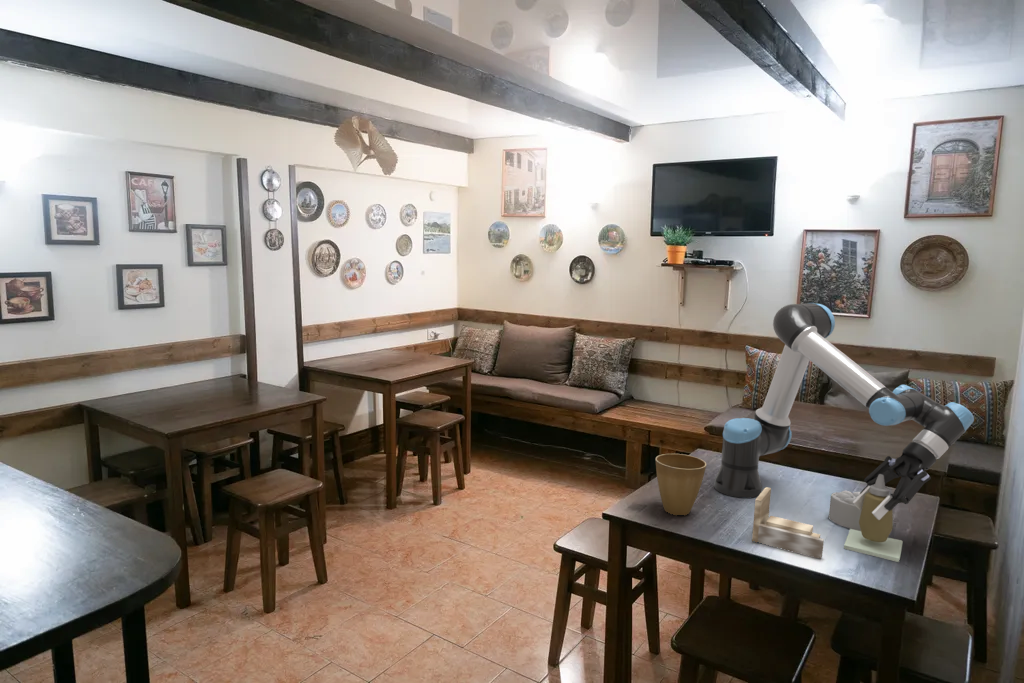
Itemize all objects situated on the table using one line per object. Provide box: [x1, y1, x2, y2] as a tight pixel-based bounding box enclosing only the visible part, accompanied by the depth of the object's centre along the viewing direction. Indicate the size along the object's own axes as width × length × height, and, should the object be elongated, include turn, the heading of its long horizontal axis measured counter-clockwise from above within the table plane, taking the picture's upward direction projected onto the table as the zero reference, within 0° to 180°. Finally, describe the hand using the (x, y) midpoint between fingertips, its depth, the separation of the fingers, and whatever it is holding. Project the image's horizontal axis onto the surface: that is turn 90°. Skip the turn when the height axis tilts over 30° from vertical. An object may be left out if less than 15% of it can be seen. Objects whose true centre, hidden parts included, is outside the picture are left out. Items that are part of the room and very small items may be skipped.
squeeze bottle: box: [859, 474, 894, 542], centre depth 178 cm, size 8×8×18 cm
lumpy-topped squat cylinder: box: [828, 490, 862, 531], centre depth 195 cm, size 10×13×9 cm
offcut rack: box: [751, 487, 825, 560], centre depth 180 cm, size 18×12×12 cm
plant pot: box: [655, 453, 707, 516], centre depth 199 cm, size 15×15×16 cm
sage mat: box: [843, 528, 904, 563], centre depth 179 cm, size 13×13×1 cm
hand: (865, 510), depth 177 cm, fingers open, 6 cm apart
